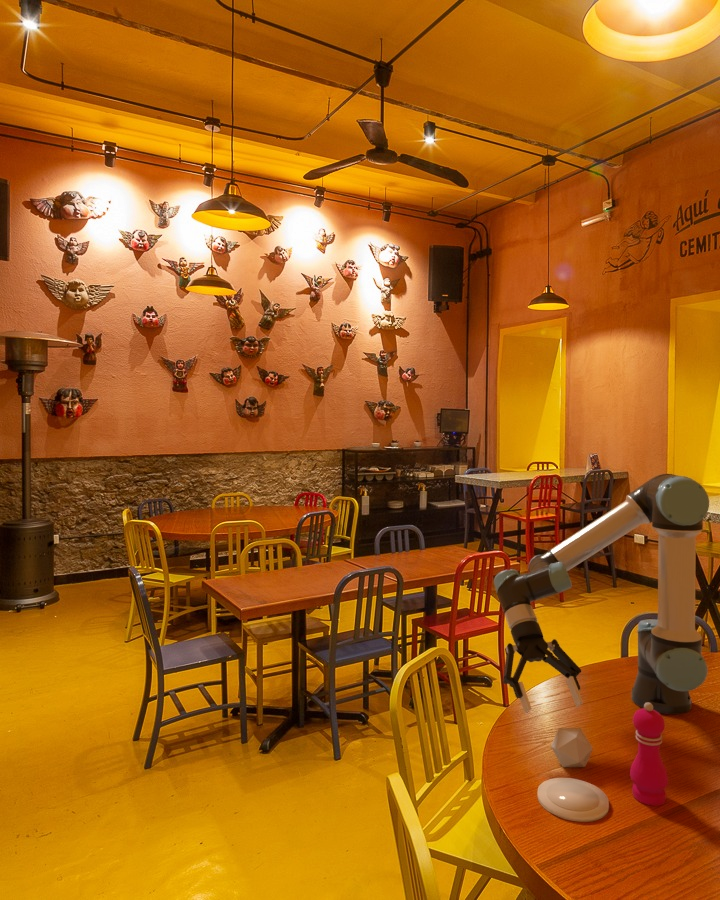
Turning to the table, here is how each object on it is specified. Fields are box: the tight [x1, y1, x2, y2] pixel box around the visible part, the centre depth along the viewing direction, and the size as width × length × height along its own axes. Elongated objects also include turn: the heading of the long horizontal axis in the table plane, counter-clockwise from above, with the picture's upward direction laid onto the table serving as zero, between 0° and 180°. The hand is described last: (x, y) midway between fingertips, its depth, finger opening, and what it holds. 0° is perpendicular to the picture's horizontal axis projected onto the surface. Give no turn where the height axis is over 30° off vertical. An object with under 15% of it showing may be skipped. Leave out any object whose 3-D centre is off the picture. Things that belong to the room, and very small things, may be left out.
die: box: [550, 727, 594, 768], centre depth 144 cm, size 8×9×10 cm
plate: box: [537, 777, 610, 823], centre depth 129 cm, size 14×14×1 cm
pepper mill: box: [629, 702, 669, 807], centre depth 130 cm, size 7×7×20 cm
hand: (554, 708), depth 148 cm, fingers open, 13 cm apart
